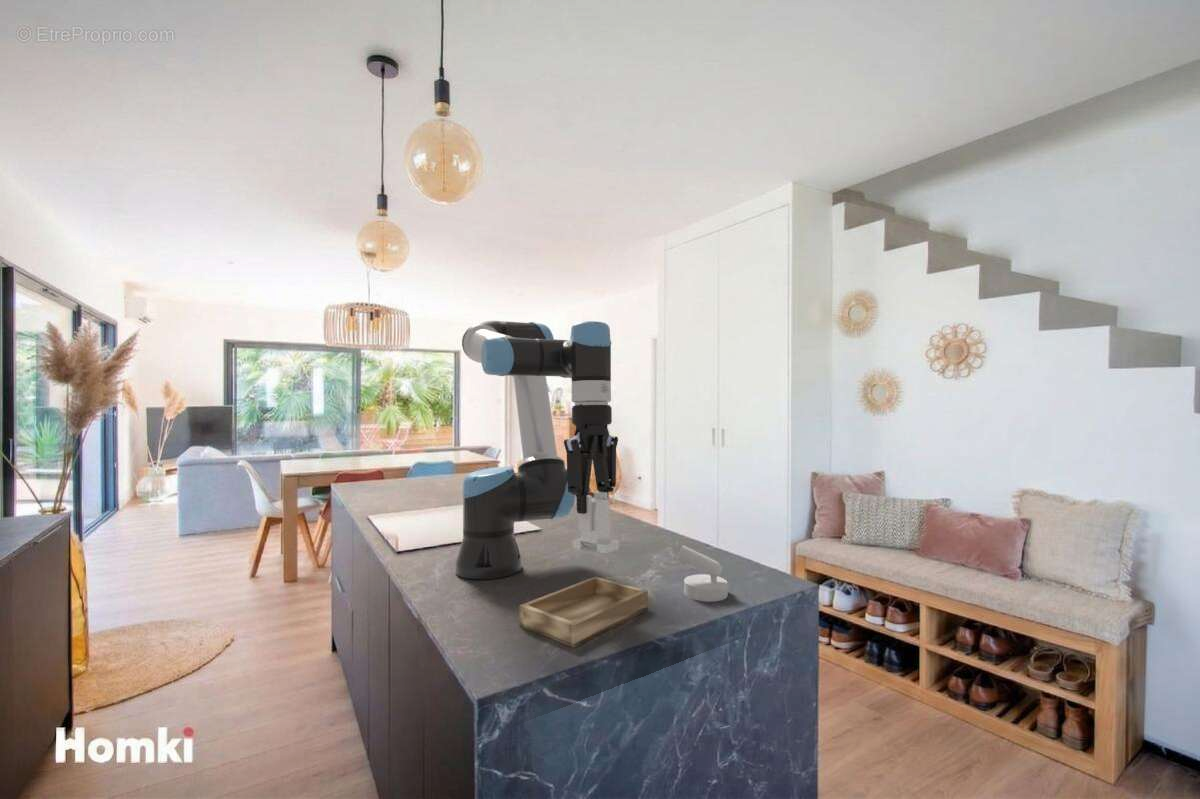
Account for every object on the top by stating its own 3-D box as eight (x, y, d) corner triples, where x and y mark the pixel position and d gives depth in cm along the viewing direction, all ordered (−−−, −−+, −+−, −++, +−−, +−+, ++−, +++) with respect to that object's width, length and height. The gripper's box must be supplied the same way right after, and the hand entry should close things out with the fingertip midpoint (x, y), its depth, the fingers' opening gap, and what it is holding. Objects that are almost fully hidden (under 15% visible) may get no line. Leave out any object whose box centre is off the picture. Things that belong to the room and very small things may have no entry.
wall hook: (677, 539, 111) (726, 541, 109) (678, 584, 111) (726, 587, 109) (675, 550, 103) (727, 553, 101) (675, 599, 103) (728, 603, 101)
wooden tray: (519, 625, 91) (519, 605, 91) (595, 593, 106) (595, 576, 106) (573, 647, 83) (573, 625, 83) (647, 609, 98) (647, 590, 98)
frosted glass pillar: (572, 547, 99) (571, 500, 100) (586, 543, 102) (585, 497, 103) (605, 553, 94) (604, 503, 95) (619, 548, 97) (617, 500, 98)
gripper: (576, 403, 90) (578, 540, 90) (633, 403, 104) (635, 522, 103) (545, 404, 95) (547, 534, 94) (604, 404, 108) (605, 518, 108)
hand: (593, 528), depth 99 cm, fingers closed on frosted glass pillar, 4 cm apart
